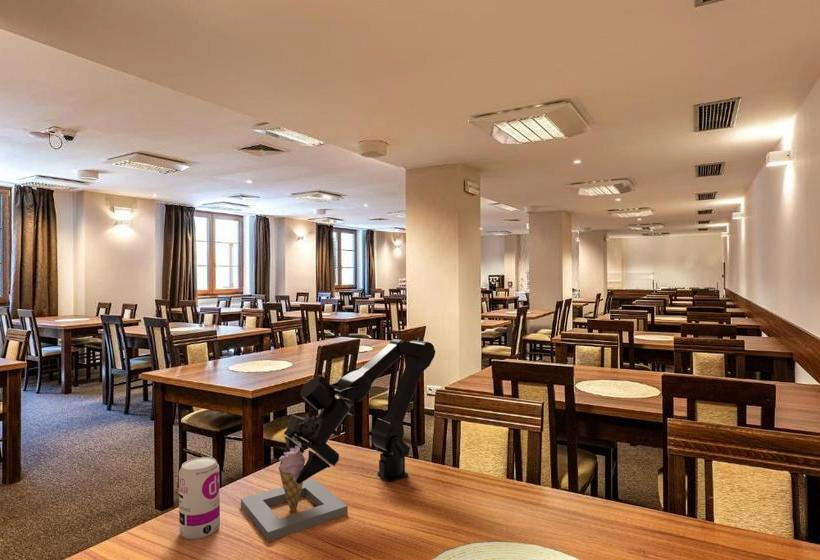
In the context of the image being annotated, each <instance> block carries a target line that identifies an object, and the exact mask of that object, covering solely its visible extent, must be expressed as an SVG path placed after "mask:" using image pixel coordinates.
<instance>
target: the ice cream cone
mask: <svg viewBox="0 0 820 560" xmlns="http://www.w3.org/2000/svg"><path fill="white" fill-rule="evenodd" d="M300 448H301V447H300ZM300 448H299V447H298V446H295V449H293V448H290V452H285V451H284V452H283V455H285V456H283V455H280V457H279V458H278V460H279V462H281V461H282V464H281V465H280V464H279V466H278V471H279V475H280V481H281V485H282V487H283V488H284V492H285V495H286V498H287V501H286V502H287V504H288V507H289V511H290V512H295V511H297V509H298V508H297V507H298V504H299V501H300V498H301V497H300V493H301V489H302V484H303V482H302V483H300V484H298V483H297V482H296V480H297V478H298V476H299V474H300V472H301V471H302V469H303V467H304V466H305V464H306V458H305V456H304V453H303V452H300ZM302 453H303V454H302Z"/></svg>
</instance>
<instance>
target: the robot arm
mask: <svg viewBox="0 0 820 560" xmlns="http://www.w3.org/2000/svg"><path fill="white" fill-rule="evenodd" d="M403 355H404V357H403V359H404V369H403V372H402V374H401V377H400V380H399V382H398V384H397V387H396V390H395V393H394V396H393V398H392V401H391V404H390V405H389V408H388V411H387V413H386V415H385V416H383V417H382V419H381V418H376V420H375V423H374V427H372V430H370V432H371V442H372V444H373V446H375V448H376V452H379V453H380V454H379V457H380V458H379V460H378V472H377V475H378V476H379V477H381V478H383V479H384V480H386V481H387V482H394V481H397V480H399V479H402V478H407V477H408V476H409V473H408V472H406V457H407V456H409V455H410V450H411V447H410V446H409V445H408V444H407V443H406V442H404V435H405V429H404V420H405V417H406V414H407V412H408V409H409V407H410V404H411V401H412V399H413V397H414V393H415V391H416V388H417V385H418V383H419V380H420V377H421V375H422V374H423V373H424V371H426V370H427V369H428V368H429V367H430V366H431V364H432V362H433V360H434V358H435V355H436V349H435V346H434V345H433V343H431V342H429V341H424V340H418V339H417V340H411V341H406V339H405V340H404V339H400V338H399V339H398V338H393V339H391V340H390V341H389V343H388V344H387V345H386V346H385V347H383V348H382V349H381V350H380V351H379V352H378V353H376V355H374V356H373V357H372V358H371V359H370V360H368V361H367V362H366V363H365V364H364V365H363V366H362V367H360V368H358V369H356V370H353V371H350V372H349V373H347V374H345V375H344V376H341V377H340V378H339V379H338V381H335V382H332V383H329V382H328V381H327V380H326V378H325V377H324V376H323V375H320V374H317V375H316V376H315V377H314V378H312V379H311V380H309V381H307V382H306V383H305V384H304V385H303V386H302V387H301V389H300V396H301V398H302V399H304V401H306V402H307V403H308V404H309V405H311V406H312V407H313V408H314V409H315V410H316V411H320V410H321V411H320V412H319V413H318V415H317V416H316V415H313V416H311V417H310V416H306V417H302V416H298V415H295V414H291V416H290V417H289V420H288V424H287V425H286V430H284V432H283V434H284V435H285V436H284V439H285V444H286V446H285V450H284V452H290V448H293V449H295V446H298V447H299V448H300V452H303V453H302V455H304V453H305V452H306V451H305V449H307V448H309V450H308V459H307V460H306V461H305V464H304V467H303V469H302V471H301V472H300V474H299V476H298V478H297V480H296V482H297V483H298V484H300V483H302V482H303V481H305V480H309V478H310V479H311V477H313V476H314V475H316V474H318V473H320V472H322V471H324V470H326V469H329V468H331V466H333V467H335V466H336V465H337V464H338V462H339V461H340V454H339V453H338V452H337V451H336V450H335V449H333V448H332V447H331V446H330V445H329V444H328V442H329V441H330V439H331V438H332V436H334V437H335V436H337V435H338V433H339V432H338V430H337V429H338V427H339V426H340V424H341V423H342V422H343V421H344V418H346V416H347V415H350V416H351V417H355V416H356V411H355V405H354V404H352V403H348V402H347V401H350V402H353V403H359V402H361V401H362V400H363V399H364V398H365V397H366V396H367V394H368V393H369V392H370V391H371V388H372V386H373V383H374V382H375V381H376V379H377V378H379V377H380V376H381V375H382V374H383V373H384V372H385V371H386V370H387V369H389V367H391V366H392V365H393V364H394V363H395V362H397V360H399V359H400V357H402V356H403ZM336 396H338V397H340V398H337V397H336ZM345 400H347V401H345ZM310 449H311V450H312V451H311V450H310ZM282 456H285V455H284V454H283V455H282ZM281 464H282V461H280V463H279V465H281Z"/></svg>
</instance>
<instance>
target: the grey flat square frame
mask: <svg viewBox="0 0 820 560" xmlns="http://www.w3.org/2000/svg"><path fill="white" fill-rule="evenodd" d="M301 497H306V498H308V500H310V501H311V502H312V503H313V504H314V505H315V506H314V507H312V508H308V509H304V510H303V511H302V510H301V511H300V512H299V511H298V512H296V513H292V514H289V515H286V516H283V517H280V518H279V516H278V515H276V513H275V512H274V511H273V510H272V509H271V507H272V506H276V505H279V504H282V503H284V502H285V503H286V502H288V501H287V498H286V495H285V492H284V488H283V486H281V487H278V488H274V489H271V490H266V491H263V492H260V493H256V494H252V495H248V496H246V497H242V498H240V507H241V509H242V511H243V512H244V513H245V514H246V515H247V516H248V518H249V519H250V520H251V522H252V523H253V525H254V526H255V527H256V528H257V529H258V531H259V532H260V533H261V535H262V536H263V537H264V538H265V540H266V541H267V542H271V541H274V540H277V539H280V538H283V537H285V536H288V535H292V534H294V533H297V532H300V531H304V530H306V529H309V528H312V527H316V526H317V525H321V524H323V523H327V522H329V521H332V520H335V519H339V518H341V517H344V516H348V514H349V513H348V509H349V508H348V505H347V504H346V503H345V502H344V501H342V500H341V499H340V498H338V497H337V496H336V495H334V494H333V493H332V492H331V491H330V490H329V489H327V488H326V487H324V485H322V484H321V483H320V482H318V480H315V478H310V479H309V478H308V479H306V480H305V481H303V484H302V489H301V493H300V497H299V498H301Z"/></svg>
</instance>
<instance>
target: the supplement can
mask: <svg viewBox="0 0 820 560" xmlns="http://www.w3.org/2000/svg"><path fill="white" fill-rule="evenodd" d="M220 502H221V501H220V465H219V463H218V461H217V459H215V458H214V457H209V456H202V457H196V458H192V459H189V460H187V461H185V462H183V463H182V464H181V467H180V469H179V471H178V512H179V513H178V515H179V534H180V535H181V536H183V537H184V538H185V539H186V540H187V539H188V540H198V539H203V538H206V537H209V536H211V535H213V534H214V533H215V532H216V531H217V530H218V529H219V527H220V526H221V509H220V508H221V506H220Z"/></svg>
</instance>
